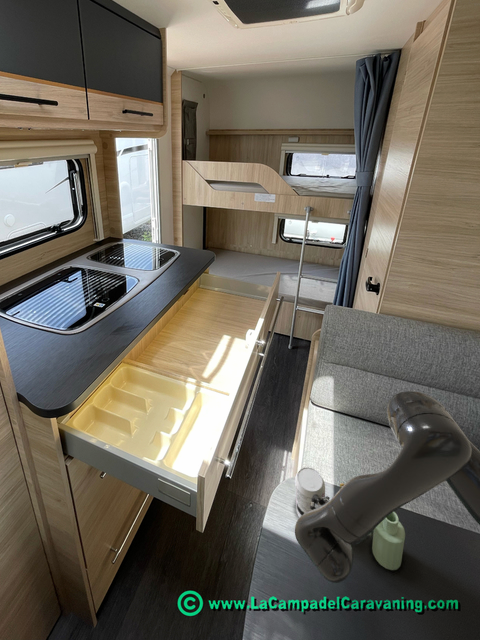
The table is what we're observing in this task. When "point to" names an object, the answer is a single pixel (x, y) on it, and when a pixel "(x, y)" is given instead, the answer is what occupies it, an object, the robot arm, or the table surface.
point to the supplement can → (307, 488)
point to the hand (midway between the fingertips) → (344, 509)
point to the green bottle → (389, 542)
